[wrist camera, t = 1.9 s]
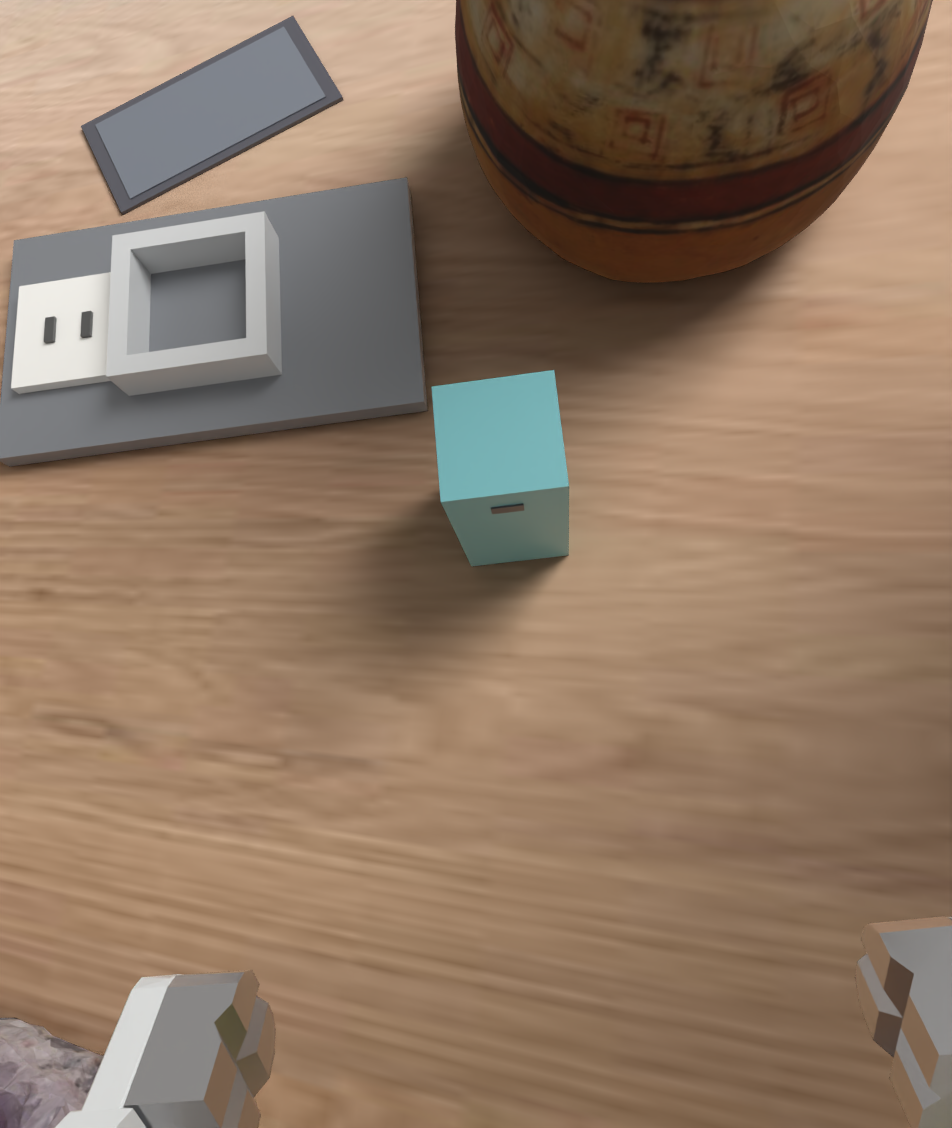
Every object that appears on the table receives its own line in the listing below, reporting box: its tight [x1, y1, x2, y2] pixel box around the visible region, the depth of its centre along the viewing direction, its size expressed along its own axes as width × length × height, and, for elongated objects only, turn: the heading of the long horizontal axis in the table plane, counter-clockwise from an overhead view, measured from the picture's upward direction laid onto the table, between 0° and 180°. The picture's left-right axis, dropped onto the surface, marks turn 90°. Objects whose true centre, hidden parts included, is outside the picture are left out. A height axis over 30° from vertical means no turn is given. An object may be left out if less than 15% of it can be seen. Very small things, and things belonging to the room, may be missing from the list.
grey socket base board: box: [0, 177, 428, 467], centre depth 39 cm, size 22×13×3 cm, turn 95°
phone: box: [81, 16, 343, 215], centre depth 44 cm, size 7×14×1 cm, turn 118°
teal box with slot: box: [432, 370, 569, 566], centre depth 32 cm, size 4×5×9 cm
